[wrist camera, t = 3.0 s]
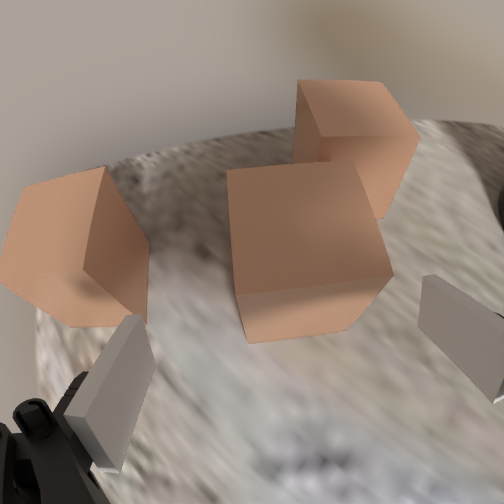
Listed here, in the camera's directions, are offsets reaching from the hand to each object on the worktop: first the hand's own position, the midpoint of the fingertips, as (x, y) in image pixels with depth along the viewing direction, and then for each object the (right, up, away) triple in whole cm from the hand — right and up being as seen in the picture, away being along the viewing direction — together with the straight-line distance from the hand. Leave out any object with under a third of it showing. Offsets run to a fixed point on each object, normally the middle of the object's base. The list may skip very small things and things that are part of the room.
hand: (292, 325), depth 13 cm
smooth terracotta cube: (+1, 0, +11) cm, 12 cm away
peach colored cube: (+7, +9, +16) cm, 20 cm away
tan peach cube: (-14, 0, +12) cm, 19 cm away
